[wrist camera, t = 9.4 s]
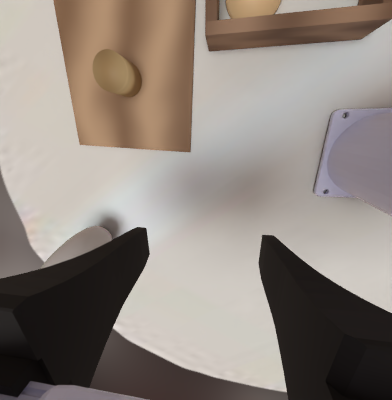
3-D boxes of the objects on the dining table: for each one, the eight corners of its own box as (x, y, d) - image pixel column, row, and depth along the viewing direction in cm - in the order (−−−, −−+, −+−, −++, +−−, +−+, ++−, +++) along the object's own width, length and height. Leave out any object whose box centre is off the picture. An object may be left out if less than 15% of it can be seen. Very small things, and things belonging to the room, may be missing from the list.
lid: (197, -7, 16) (188, -46, 12) (191, 151, 20) (184, 156, 17) (59, -1, 17) (16, -34, 14) (84, 144, 22) (57, 147, 18)
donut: (105, 208, 24) (31, 257, 15) (127, 223, 24) (68, 280, 15) (80, 254, 28) (8, 316, 19) (99, 266, 28) (38, 334, 19)
